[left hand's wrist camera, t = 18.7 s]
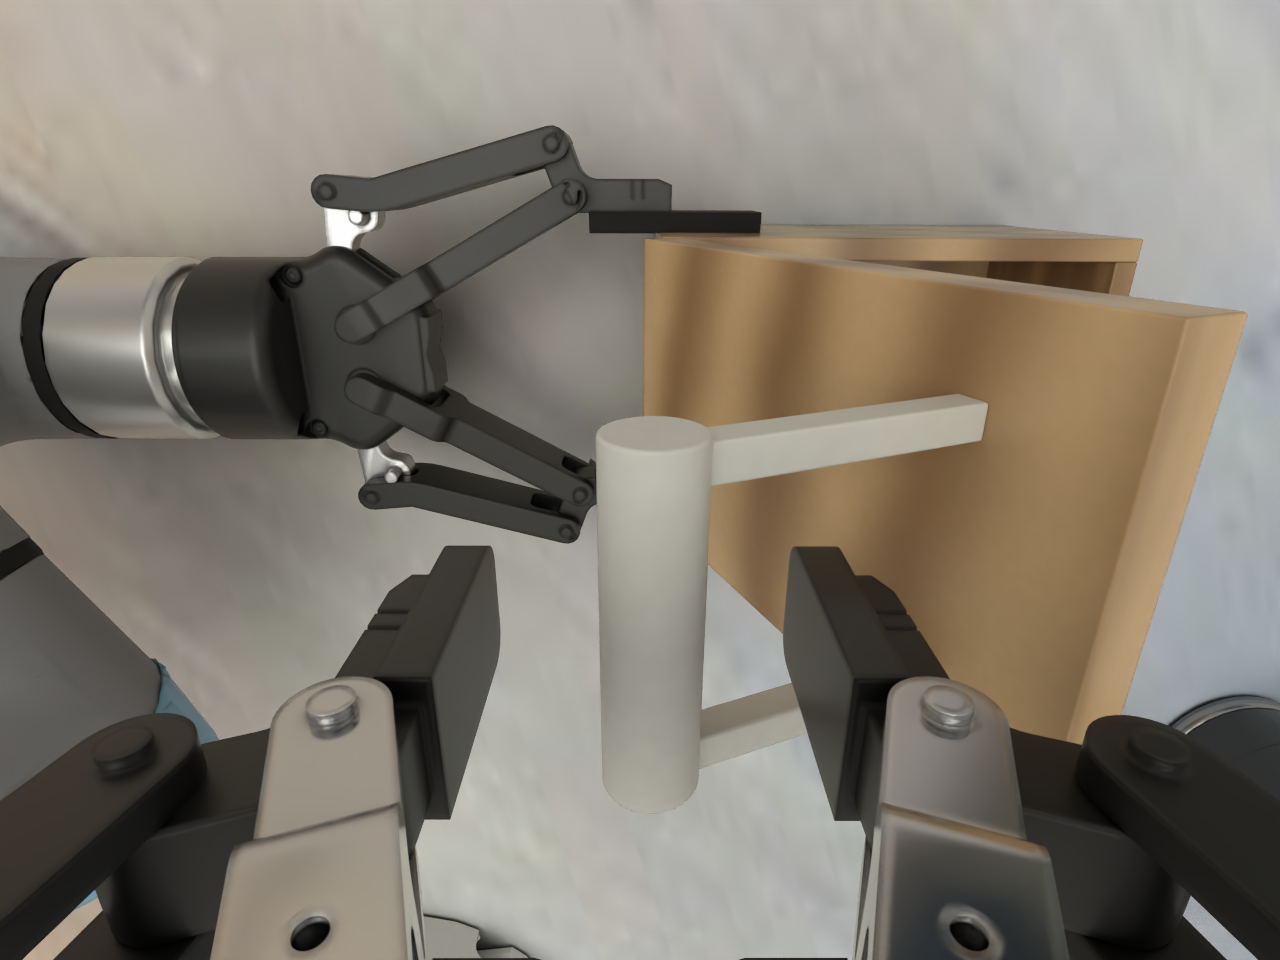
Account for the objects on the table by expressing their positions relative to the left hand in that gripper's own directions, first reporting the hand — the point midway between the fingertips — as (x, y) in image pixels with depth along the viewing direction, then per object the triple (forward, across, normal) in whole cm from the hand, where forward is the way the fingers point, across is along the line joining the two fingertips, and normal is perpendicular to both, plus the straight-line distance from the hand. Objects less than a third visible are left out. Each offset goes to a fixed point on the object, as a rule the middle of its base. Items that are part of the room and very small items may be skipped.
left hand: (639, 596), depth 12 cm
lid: (+7, -5, 0) cm, 9 cm away
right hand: (+20, -5, 0) cm, 20 cm away
